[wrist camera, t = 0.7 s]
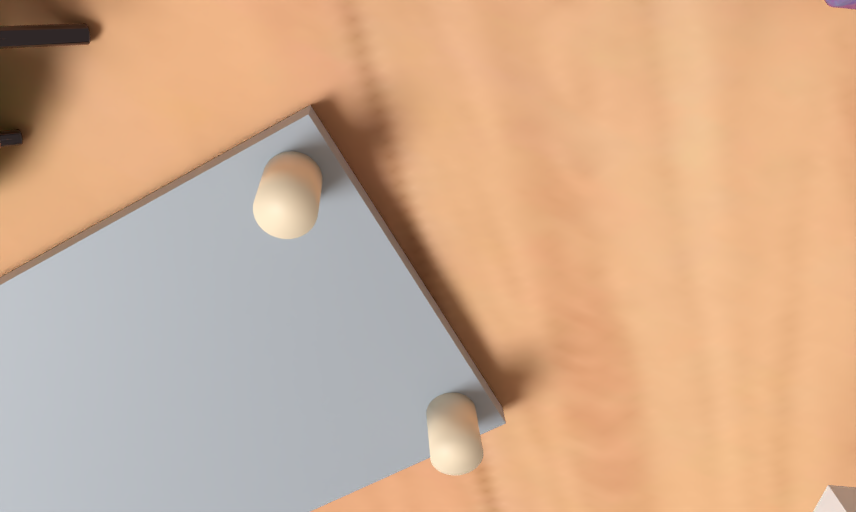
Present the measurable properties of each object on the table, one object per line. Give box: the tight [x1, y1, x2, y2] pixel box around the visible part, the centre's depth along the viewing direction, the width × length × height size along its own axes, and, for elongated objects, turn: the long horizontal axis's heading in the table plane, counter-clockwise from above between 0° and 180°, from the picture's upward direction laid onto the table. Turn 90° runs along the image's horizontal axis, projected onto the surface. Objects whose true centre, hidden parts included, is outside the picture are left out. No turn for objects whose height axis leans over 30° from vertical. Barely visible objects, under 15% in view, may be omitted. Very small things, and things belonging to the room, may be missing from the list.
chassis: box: [0, 105, 506, 512], centre depth 36 cm, size 18×25×4 cm
